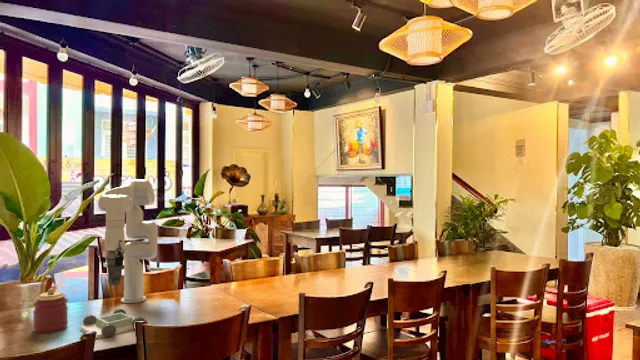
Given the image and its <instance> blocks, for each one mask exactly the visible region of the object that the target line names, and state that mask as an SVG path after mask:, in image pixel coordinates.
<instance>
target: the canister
mask: <svg viewBox="0 0 640 360" xmlns="http://www.w3.org/2000/svg"><path fill="white" fill-rule="evenodd" d="M66 296H67V295H66V293H63V292H62V291H55V289H54V288H52V287H51V288H49V289H48V290H47V292H43V293H40V294H39V295H37V296H36V297H35V302H33V303H32V305H33V306H34V310H33V311H32V313H33V324H32V329H33V333H36V334H50V333H51V334H52V333H57V332H60V331H63V330H66V328H67V327H68V309H69V307H68V304H67V303H68V301H69V299H68V298H66Z"/></svg>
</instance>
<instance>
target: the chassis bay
mask: <svg viewBox="0 0 640 360" xmlns="http://www.w3.org/2000/svg"><path fill="white" fill-rule="evenodd" d="M135 321H146V319H145V318H143V317H140V316H136V317H135V316H133V315H128V314H127V312H126V311H125V310H124V309H122V308H116V309H115V310H114V311H113V313H112V314H109V315H104V316H99V317H96V316H95V315H93V314H89V315H86V316H85V317H84V318H83V321H82V323H83V325H81V326H80V331H81V332H83V333H85V334H87V333H86V332H92V331H96V332H97V337H96V338H98V339H101V337H102V338H109V337H110V338H112V337H114V336H115V335H117V334H121V333H125V332H129V331H133V330H135V329H134V322H135ZM128 330H129V331H128Z"/></svg>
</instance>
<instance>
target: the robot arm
mask: <svg viewBox="0 0 640 360" xmlns="http://www.w3.org/2000/svg"><path fill="white" fill-rule="evenodd" d="M155 199H156V197H155V191H154V188H153V185H152V183H151V181H150V180H147V179H131V178H130V179H127V180H124V181H123V182H122V183H121V184H120V186H119V187H115V188H112V189H111V188H110V189H108V190H105V191H104V192H103V193H102V194H101V195H100V196H99V198H98V200H97V201H98V203H97V205H98V209H99V210H100V211H102V212H104V213H105V231H104V242H103V243H104V250H106V255H107V254H108V252H109V251H115V253H116V257H115V266H122V267H123V292H122V295H123V297H121V298H120V303H124V304H134V303H135V304H136V303H140V302H144V301H146V300H147V296H145V295H144V266H143V264H142V262H141V261H140V260H152V259H155V258H157V255H158V232H159V231H158V224H157V223H156V222H155V221H151V220H144V210H143V209H142V208H141V207H140V206H151V205H153V204H154V203H155ZM126 237H127V238H128V239H131V240H136V241H128V242H125V240H126V239H125V238H126ZM137 240H139V241H137ZM140 240H145V241H140ZM146 240H147V241H146ZM117 249H118V250H117ZM118 252H119V253H118ZM123 256H124V260H123Z"/></svg>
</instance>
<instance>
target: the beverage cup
mask: <svg viewBox="0 0 640 360" xmlns="http://www.w3.org/2000/svg"><path fill="white" fill-rule="evenodd" d="M117 250H118V249H117ZM118 253H119V252H118ZM115 257H116V253H115V251H109V252H108V254H107V253H106V258H105V259H106V265H107V266H106V267H107V275H108V276H107V278H108V285H109V286H120V285H121V282H122V281H121V280H122V276H123V275H122V274H123V265H122V266H115ZM123 261H124V256H123Z"/></svg>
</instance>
